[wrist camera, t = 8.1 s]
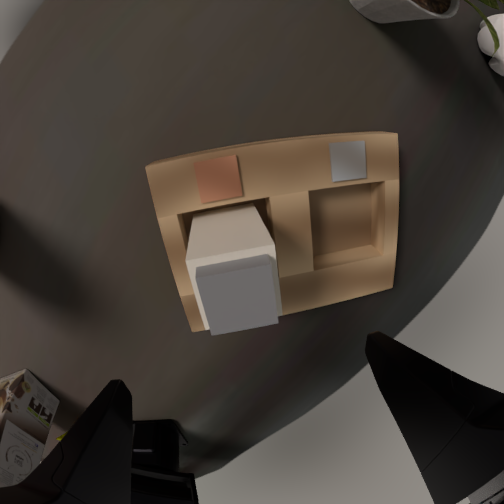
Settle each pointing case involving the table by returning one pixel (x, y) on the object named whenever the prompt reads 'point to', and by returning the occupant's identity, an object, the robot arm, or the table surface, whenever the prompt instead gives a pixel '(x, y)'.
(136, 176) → the table surface
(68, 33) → the table surface
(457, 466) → the robot arm
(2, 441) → the coffee box
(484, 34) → the water bottle
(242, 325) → the plug
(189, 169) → the socket board
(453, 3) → the house plant
